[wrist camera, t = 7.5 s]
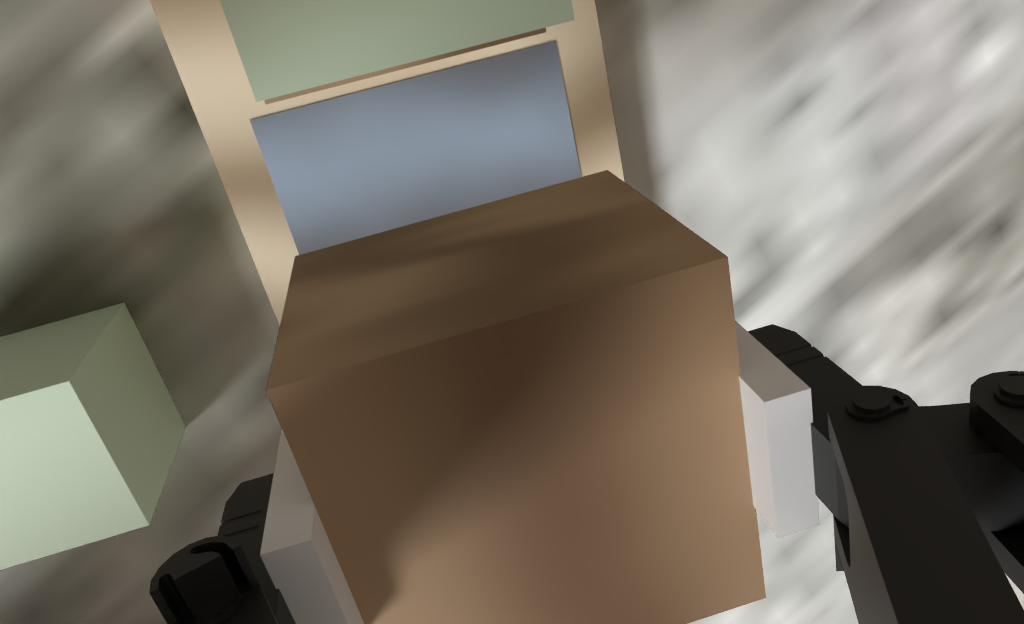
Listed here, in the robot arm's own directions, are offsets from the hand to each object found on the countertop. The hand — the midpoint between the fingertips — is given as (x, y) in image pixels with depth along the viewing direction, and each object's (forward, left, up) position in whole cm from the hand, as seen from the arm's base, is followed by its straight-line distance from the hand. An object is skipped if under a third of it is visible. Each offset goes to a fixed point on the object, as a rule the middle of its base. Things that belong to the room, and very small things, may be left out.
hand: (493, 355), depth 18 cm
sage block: (+3, -15, -12) cm, 19 cm away
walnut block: (0, 0, 0) cm, 0 cm away
